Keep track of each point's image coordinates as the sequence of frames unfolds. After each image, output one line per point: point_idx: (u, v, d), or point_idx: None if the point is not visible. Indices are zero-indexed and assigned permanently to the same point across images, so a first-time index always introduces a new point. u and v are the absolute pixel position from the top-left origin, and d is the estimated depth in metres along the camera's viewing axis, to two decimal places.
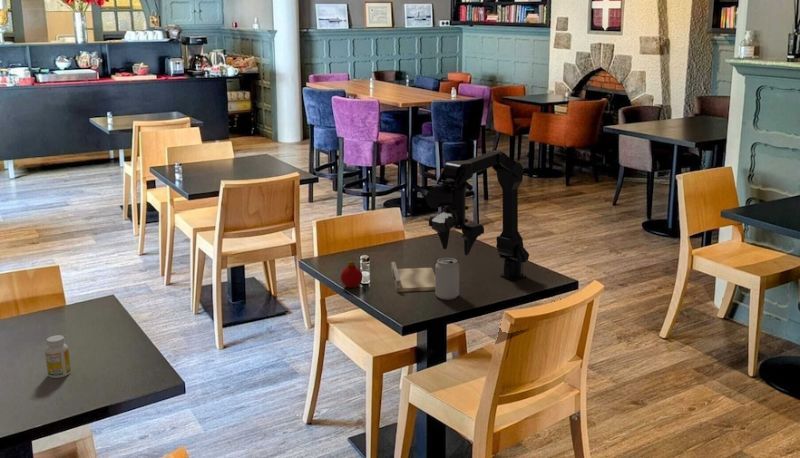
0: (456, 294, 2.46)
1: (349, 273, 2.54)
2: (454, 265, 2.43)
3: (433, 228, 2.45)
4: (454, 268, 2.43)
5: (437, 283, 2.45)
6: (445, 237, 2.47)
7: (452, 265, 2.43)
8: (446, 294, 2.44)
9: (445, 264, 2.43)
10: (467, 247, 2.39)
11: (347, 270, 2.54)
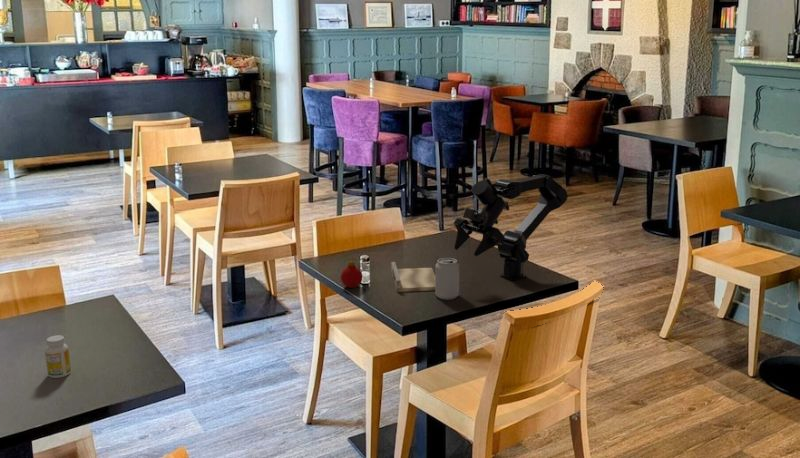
0: (456, 294, 2.46)
1: (349, 273, 2.54)
2: (454, 265, 2.43)
3: (457, 225, 2.54)
4: (454, 268, 2.43)
5: (437, 283, 2.45)
6: (461, 239, 2.54)
7: (452, 265, 2.43)
8: (446, 294, 2.44)
9: (445, 264, 2.43)
10: (480, 247, 2.45)
11: (347, 270, 2.54)
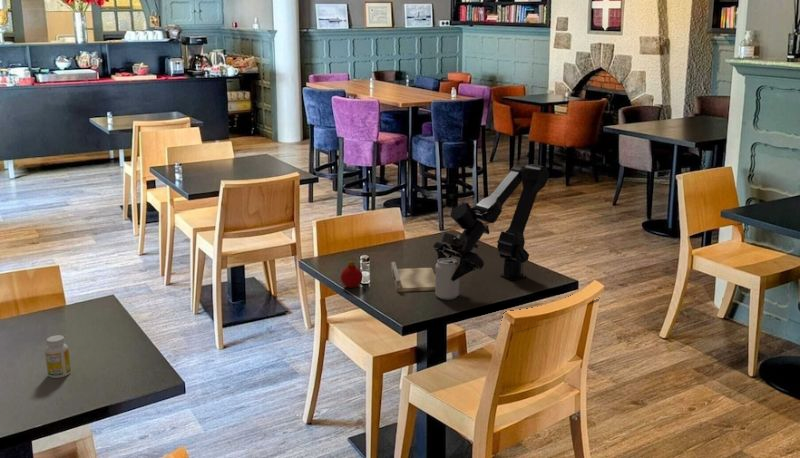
0: (456, 294, 2.46)
1: (349, 273, 2.54)
2: (454, 265, 2.43)
3: (437, 250, 2.50)
4: (454, 268, 2.43)
5: (437, 283, 2.45)
6: None
7: (452, 265, 2.43)
8: (446, 293, 2.44)
9: (445, 264, 2.43)
10: (458, 272, 2.42)
11: (347, 270, 2.54)
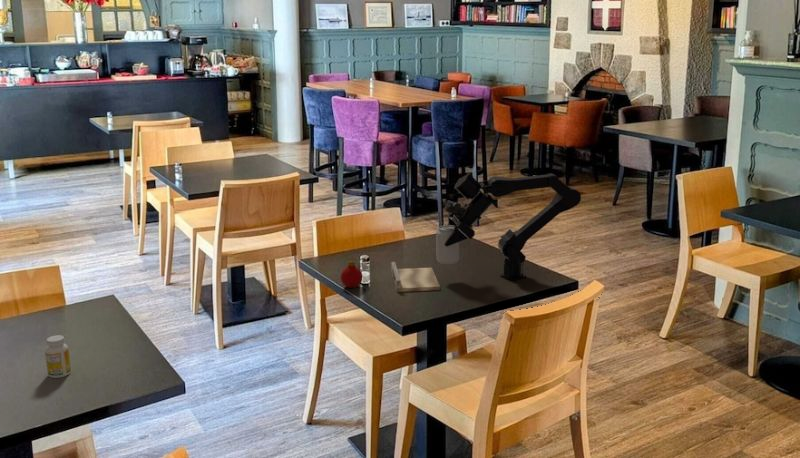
0: (451, 260, 2.58)
1: (349, 273, 2.54)
2: (449, 232, 2.56)
3: (448, 217, 2.65)
4: (449, 234, 2.56)
5: (436, 247, 2.61)
6: None
7: (447, 232, 2.56)
8: (441, 258, 2.59)
9: (441, 230, 2.57)
10: (450, 238, 2.55)
11: (347, 270, 2.54)
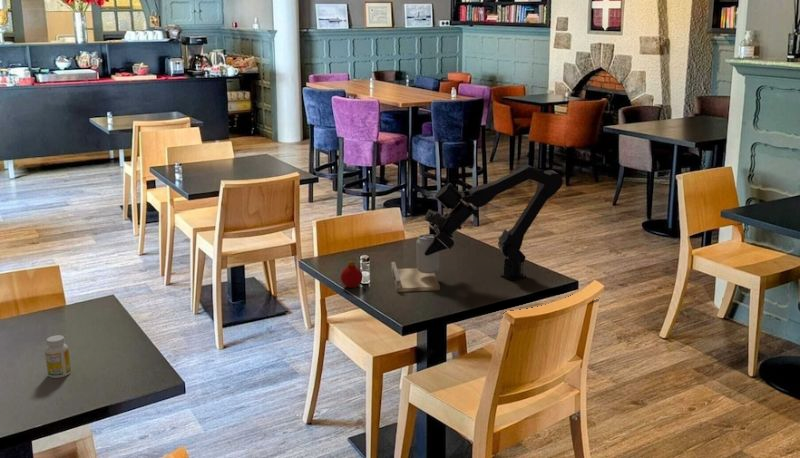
0: (431, 269, 2.59)
1: (349, 273, 2.54)
2: (429, 241, 2.57)
3: (429, 226, 2.65)
4: (428, 244, 2.56)
5: None
6: None
7: (427, 241, 2.57)
8: (421, 267, 2.59)
9: (421, 239, 2.58)
10: (430, 248, 2.56)
11: (347, 270, 2.54)
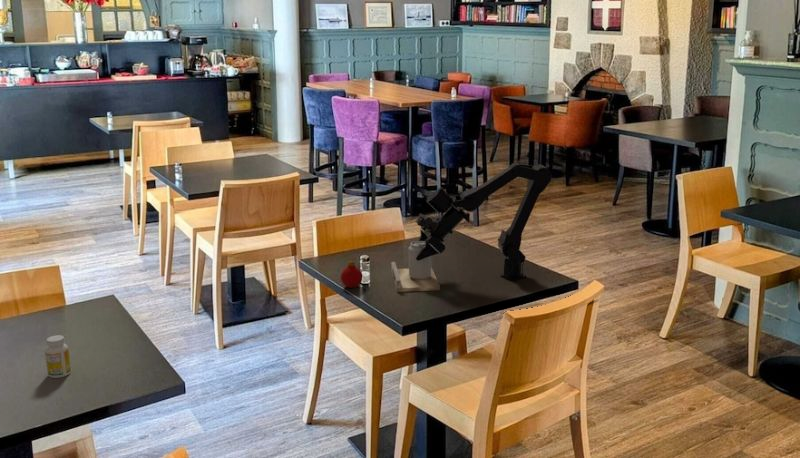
0: (423, 276, 2.59)
1: (349, 273, 2.54)
2: (421, 248, 2.57)
3: (420, 229, 2.66)
4: None
5: None
6: None
7: (419, 248, 2.57)
8: (413, 274, 2.60)
9: (413, 246, 2.58)
10: (421, 253, 2.55)
11: (347, 270, 2.54)
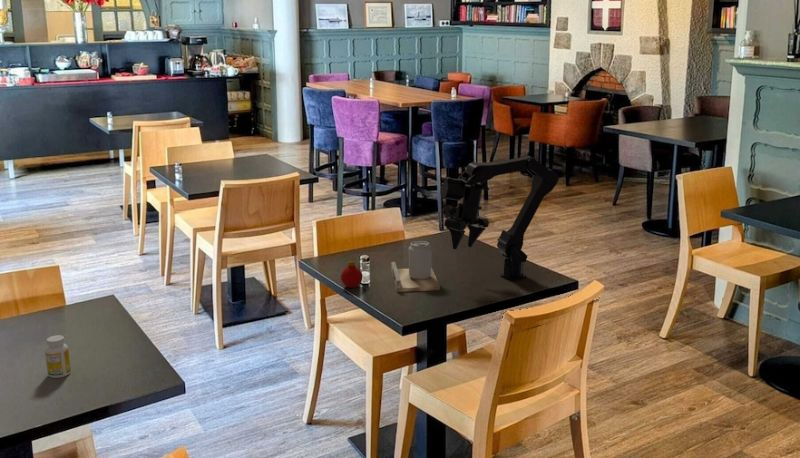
0: (423, 276, 2.59)
1: (349, 273, 2.54)
2: (421, 248, 2.57)
3: None
4: (421, 250, 2.57)
5: None
6: (472, 235, 2.61)
7: (419, 248, 2.57)
8: (413, 274, 2.60)
9: (413, 246, 2.58)
10: (452, 240, 2.53)
11: (347, 270, 2.54)
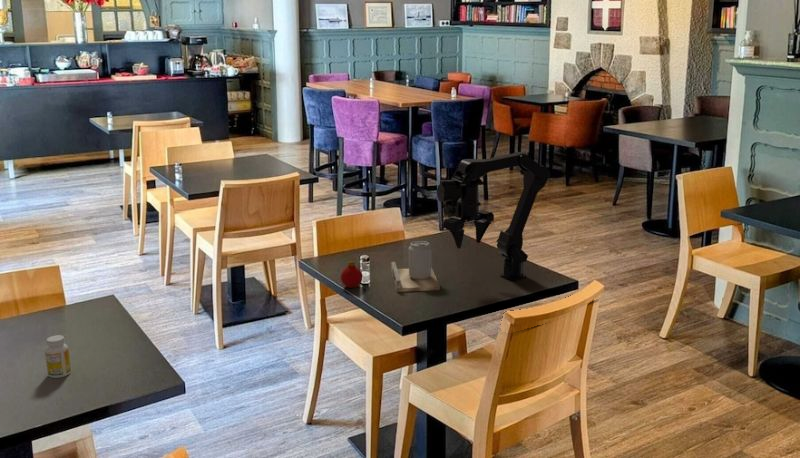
0: (423, 276, 2.59)
1: (349, 273, 2.54)
2: (421, 248, 2.57)
3: None
4: (421, 250, 2.57)
5: None
6: (478, 231, 2.59)
7: (419, 248, 2.57)
8: (413, 274, 2.60)
9: (413, 246, 2.58)
10: (455, 240, 2.53)
11: (347, 270, 2.54)
